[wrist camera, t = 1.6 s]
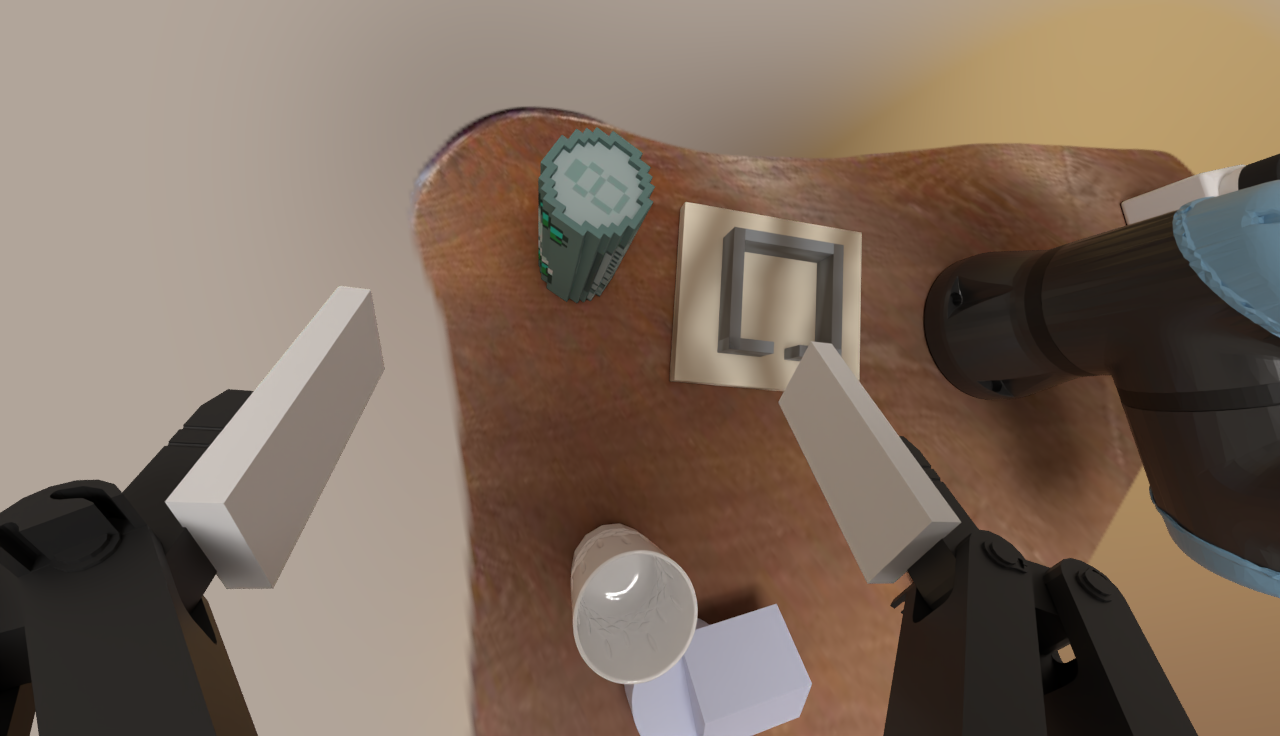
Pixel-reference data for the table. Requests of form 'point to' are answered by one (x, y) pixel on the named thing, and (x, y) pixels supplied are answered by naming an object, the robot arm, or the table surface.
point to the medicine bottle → (1200, 188)
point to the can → (589, 211)
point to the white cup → (629, 605)
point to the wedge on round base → (726, 681)
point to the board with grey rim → (761, 297)
